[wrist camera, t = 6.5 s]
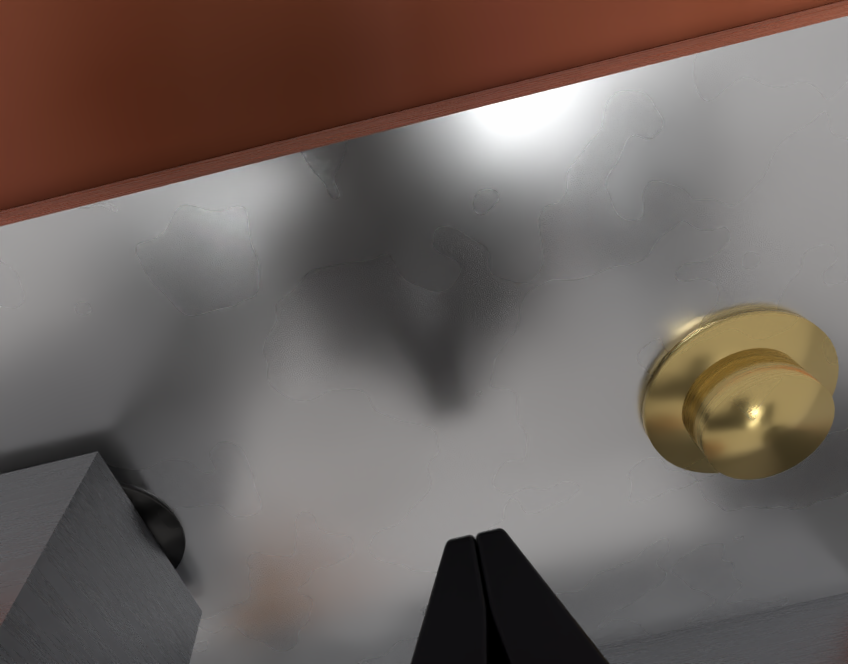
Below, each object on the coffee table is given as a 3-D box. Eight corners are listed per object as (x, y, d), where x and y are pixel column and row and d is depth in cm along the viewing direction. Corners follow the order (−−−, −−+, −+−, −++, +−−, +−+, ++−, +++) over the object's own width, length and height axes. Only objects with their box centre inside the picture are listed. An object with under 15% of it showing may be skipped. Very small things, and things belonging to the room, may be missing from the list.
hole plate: (931, -22, 8) (1244, -24, 5) (823, 584, 15) (938, 734, 12) (-314, 289, 9) (-648, 443, 6) (110, 742, 15) (51, 922, 12)
